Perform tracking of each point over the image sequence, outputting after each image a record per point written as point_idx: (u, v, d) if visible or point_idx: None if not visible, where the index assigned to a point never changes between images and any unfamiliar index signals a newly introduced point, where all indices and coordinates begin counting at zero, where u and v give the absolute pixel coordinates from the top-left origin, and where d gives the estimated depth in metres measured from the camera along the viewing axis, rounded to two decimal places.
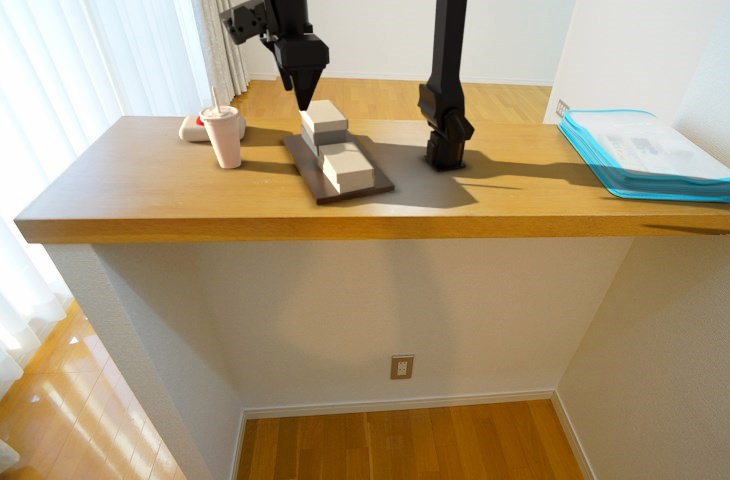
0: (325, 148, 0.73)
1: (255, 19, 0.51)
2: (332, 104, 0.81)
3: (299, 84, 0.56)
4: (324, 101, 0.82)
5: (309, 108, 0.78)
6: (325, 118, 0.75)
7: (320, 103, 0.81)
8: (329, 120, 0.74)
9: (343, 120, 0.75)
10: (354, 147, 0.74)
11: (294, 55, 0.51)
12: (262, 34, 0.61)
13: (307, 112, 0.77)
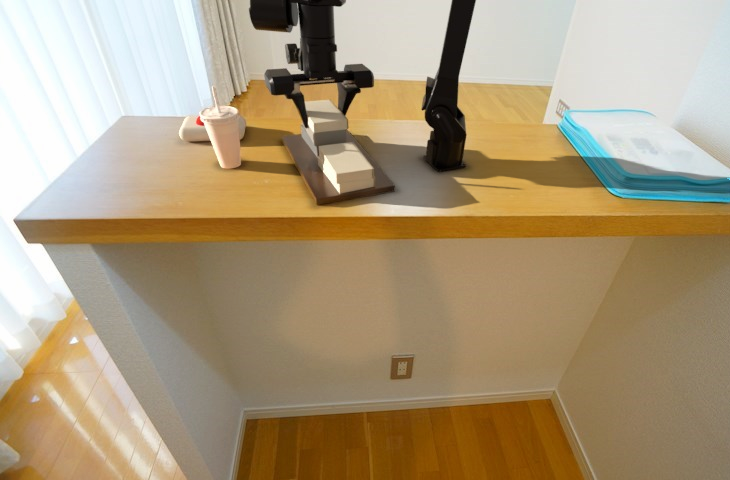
0: (325, 148, 0.73)
1: (288, 54, 0.74)
2: (332, 104, 0.81)
3: (296, 105, 0.76)
4: (324, 101, 0.82)
5: (309, 108, 0.78)
6: (325, 118, 0.75)
7: (320, 103, 0.81)
8: (329, 120, 0.74)
9: (343, 120, 0.75)
10: (354, 147, 0.74)
11: (265, 79, 0.72)
12: None
13: (307, 112, 0.77)
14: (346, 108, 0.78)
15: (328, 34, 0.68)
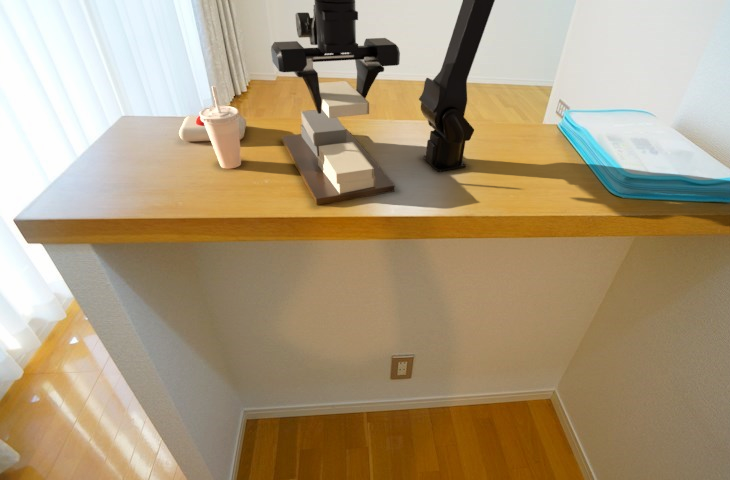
0: (325, 148, 0.73)
1: (299, 25, 0.63)
2: (349, 86, 0.69)
3: (308, 86, 0.64)
4: (340, 83, 0.70)
5: (323, 90, 0.67)
6: (342, 101, 0.64)
7: (335, 85, 0.69)
8: (347, 103, 0.63)
9: (363, 103, 0.64)
10: (354, 147, 0.74)
11: (272, 54, 0.61)
12: None
13: (321, 94, 0.65)
14: (366, 90, 0.66)
15: None
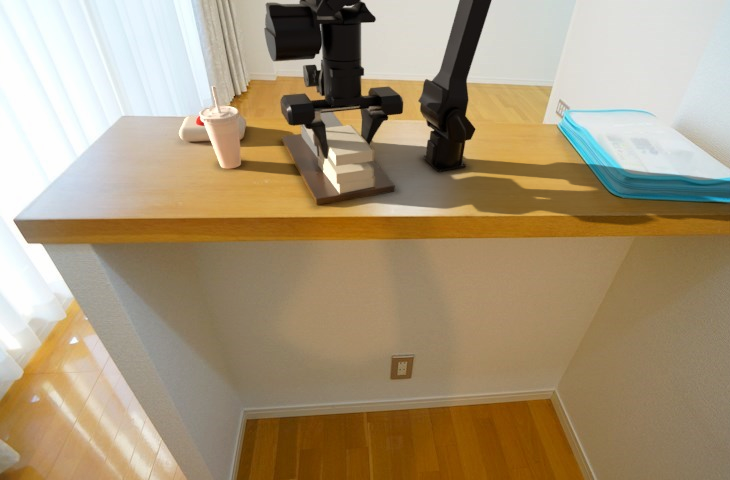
0: None
1: (307, 77, 0.65)
2: (354, 131, 0.72)
3: (315, 134, 0.67)
4: (345, 127, 0.73)
5: (329, 136, 0.70)
6: (348, 149, 0.66)
7: (341, 130, 0.72)
8: (353, 151, 0.66)
9: (368, 151, 0.66)
10: None
11: (282, 106, 0.63)
12: None
13: (327, 141, 0.68)
14: (371, 136, 0.69)
15: (360, 54, 0.60)
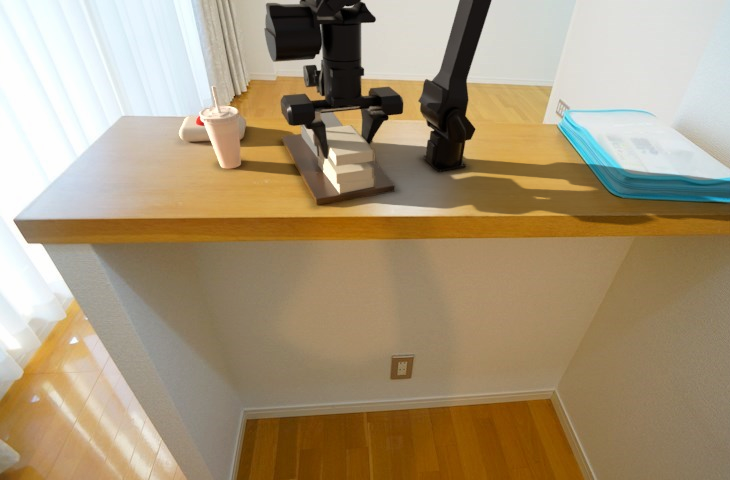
0: None
1: (307, 77, 0.65)
2: (354, 131, 0.72)
3: (315, 134, 0.67)
4: (345, 127, 0.73)
5: (329, 136, 0.70)
6: (349, 149, 0.66)
7: (341, 130, 0.72)
8: (353, 152, 0.66)
9: (369, 151, 0.67)
10: None
11: (282, 106, 0.63)
12: None
13: (327, 141, 0.68)
14: (371, 137, 0.69)
15: (360, 54, 0.60)
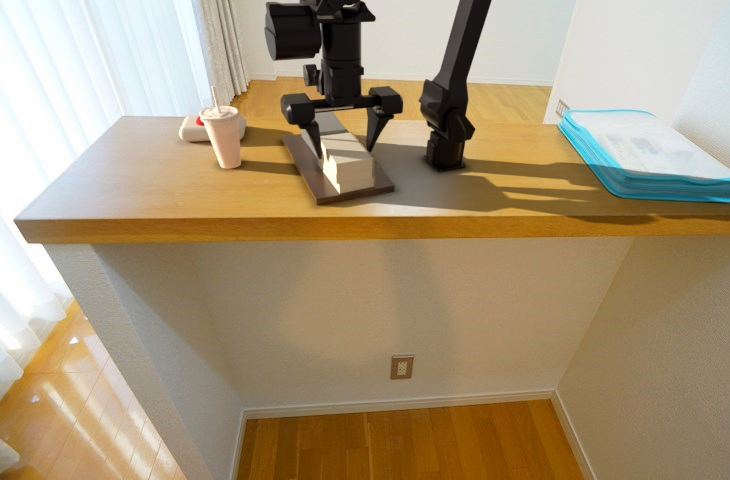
0: None
1: (307, 76, 0.65)
2: (354, 138, 0.73)
3: (309, 134, 0.67)
4: (345, 135, 0.74)
5: (330, 144, 0.71)
6: (349, 157, 0.67)
7: (341, 137, 0.73)
8: (353, 159, 0.67)
9: (368, 159, 0.67)
10: None
11: (281, 106, 0.63)
12: None
13: (328, 149, 0.69)
14: (377, 135, 0.69)
15: (360, 53, 0.60)
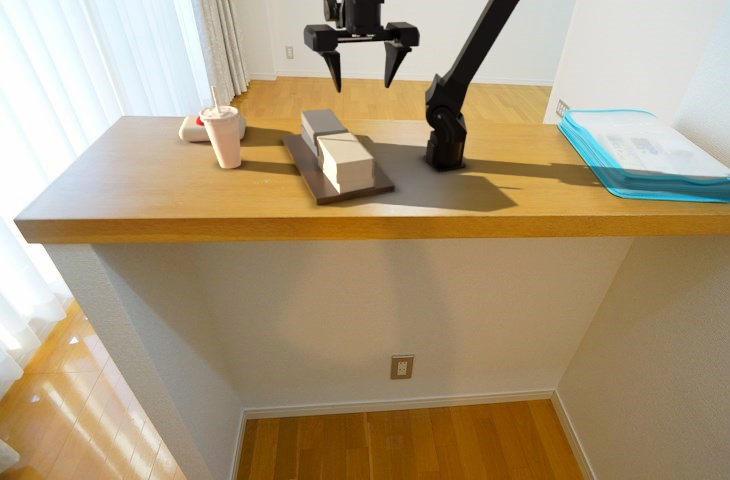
0: None
1: (328, 9, 0.68)
2: (354, 138, 0.73)
3: (329, 66, 0.70)
4: (345, 135, 0.74)
5: (330, 144, 0.71)
6: (349, 157, 0.67)
7: (341, 137, 0.73)
8: (353, 159, 0.67)
9: (368, 159, 0.67)
10: None
11: (305, 36, 0.66)
12: None
13: (328, 149, 0.69)
14: (395, 69, 0.72)
15: None
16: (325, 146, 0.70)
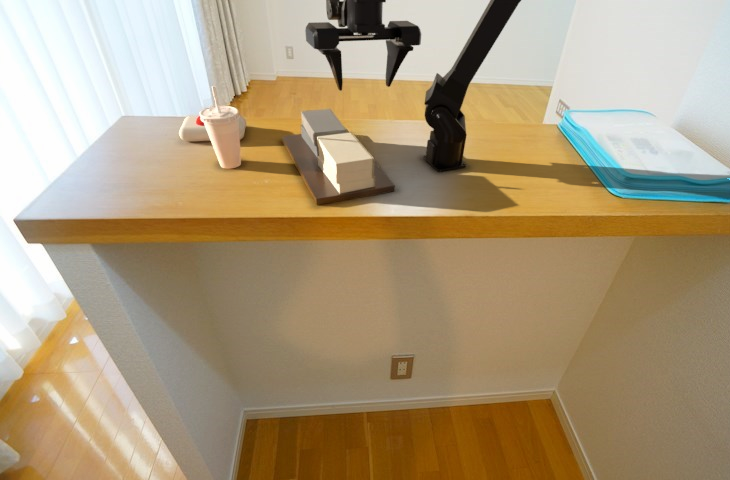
0: None
1: (330, 8, 0.69)
2: (354, 138, 0.73)
3: (331, 64, 0.70)
4: (345, 135, 0.74)
5: (330, 144, 0.71)
6: (349, 157, 0.67)
7: (341, 137, 0.73)
8: (353, 159, 0.67)
9: (368, 159, 0.67)
10: None
11: (307, 34, 0.67)
12: None
13: (328, 149, 0.69)
14: (396, 68, 0.73)
15: None
16: (325, 146, 0.70)
